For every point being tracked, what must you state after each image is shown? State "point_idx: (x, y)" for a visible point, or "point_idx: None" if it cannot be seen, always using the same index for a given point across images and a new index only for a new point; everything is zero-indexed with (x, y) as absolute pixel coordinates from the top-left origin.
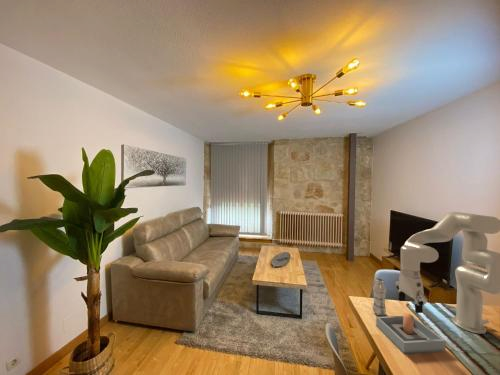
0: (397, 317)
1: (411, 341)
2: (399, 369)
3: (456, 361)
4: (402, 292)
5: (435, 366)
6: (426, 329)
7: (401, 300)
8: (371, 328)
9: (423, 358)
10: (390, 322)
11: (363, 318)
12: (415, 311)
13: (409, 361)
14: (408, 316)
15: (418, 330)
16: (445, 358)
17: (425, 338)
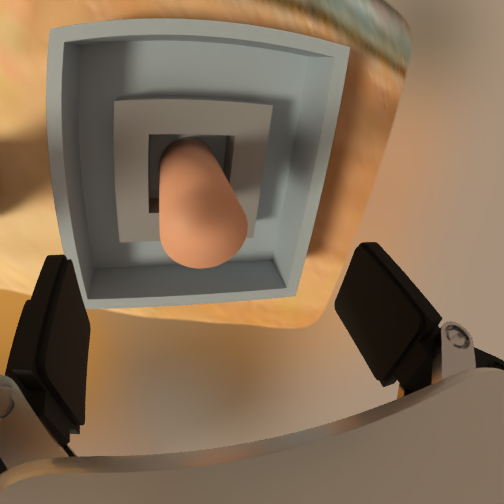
0: (65, 171)
1: (299, 257)
2: (320, 313)
3: (368, 67)
4: (56, 422)
5: (357, 187)
6: (216, 38)
7: (83, 314)
8: None
9: None
10: (80, 210)
11: None
12: (343, 314)
13: (310, 265)
14: (214, 240)
15: (150, 47)
16: (345, 97)
17: (270, 115)
